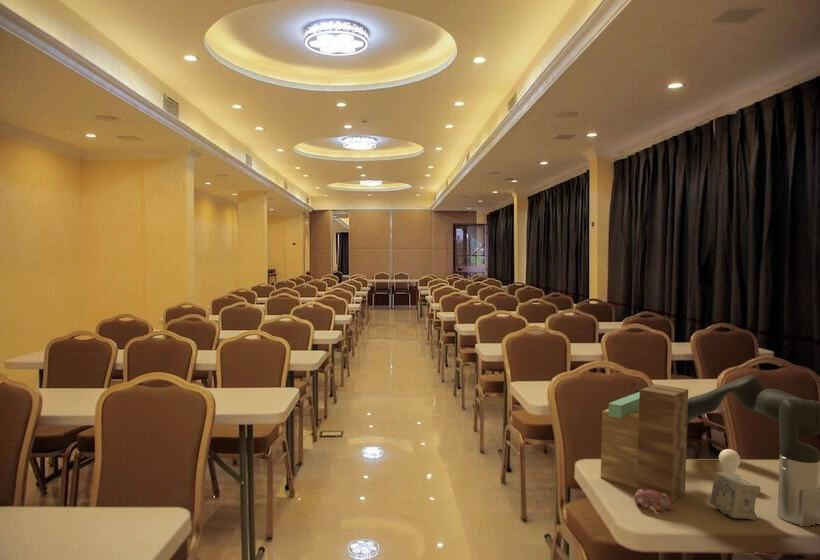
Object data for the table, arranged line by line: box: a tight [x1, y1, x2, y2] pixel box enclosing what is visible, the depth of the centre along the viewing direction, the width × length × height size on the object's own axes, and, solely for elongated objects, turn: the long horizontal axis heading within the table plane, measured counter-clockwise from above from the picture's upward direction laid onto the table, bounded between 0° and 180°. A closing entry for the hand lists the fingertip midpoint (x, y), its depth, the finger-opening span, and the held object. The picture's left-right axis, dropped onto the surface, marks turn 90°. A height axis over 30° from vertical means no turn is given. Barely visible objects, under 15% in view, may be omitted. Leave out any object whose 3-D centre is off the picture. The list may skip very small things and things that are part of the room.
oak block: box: [600, 408, 639, 489], centre depth 191 cm, size 14×12×22 cm
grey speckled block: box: [709, 471, 761, 521], centre depth 164 cm, size 10×8×10 cm
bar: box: [608, 392, 640, 418], centre depth 192 cm, size 26×4×4 cm, turn 136°
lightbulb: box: [718, 448, 741, 474], centre depth 187 cm, size 6×6×11 cm
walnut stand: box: [636, 383, 689, 505], centre depth 177 cm, size 12×10×32 cm
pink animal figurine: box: [633, 489, 672, 512], centre depth 167 cm, size 10×5×7 cm, turn 63°
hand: (650, 392), depth 204 cm, fingers open, 8 cm apart
